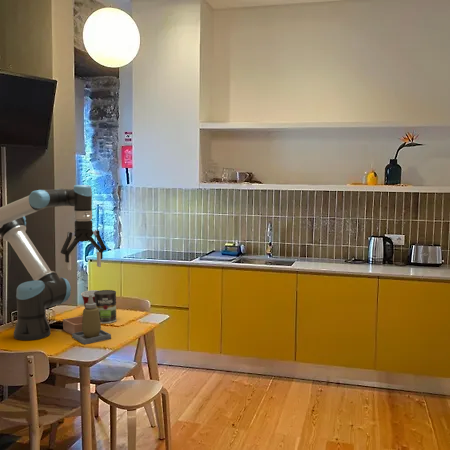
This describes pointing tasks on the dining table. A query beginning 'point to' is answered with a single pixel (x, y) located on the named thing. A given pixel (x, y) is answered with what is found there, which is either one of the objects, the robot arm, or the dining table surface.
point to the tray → (84, 340)
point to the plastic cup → (86, 295)
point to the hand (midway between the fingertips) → (84, 268)
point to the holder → (73, 324)
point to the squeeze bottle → (91, 319)
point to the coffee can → (106, 305)
